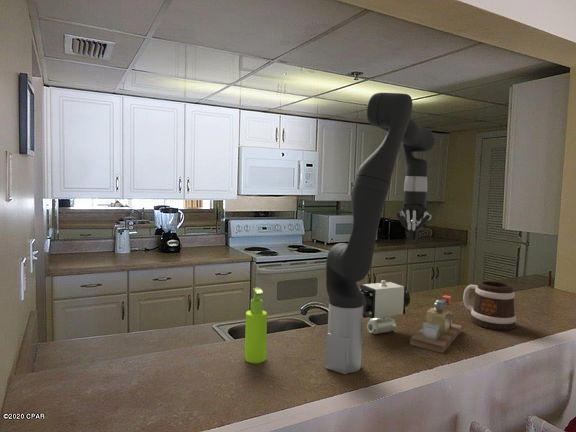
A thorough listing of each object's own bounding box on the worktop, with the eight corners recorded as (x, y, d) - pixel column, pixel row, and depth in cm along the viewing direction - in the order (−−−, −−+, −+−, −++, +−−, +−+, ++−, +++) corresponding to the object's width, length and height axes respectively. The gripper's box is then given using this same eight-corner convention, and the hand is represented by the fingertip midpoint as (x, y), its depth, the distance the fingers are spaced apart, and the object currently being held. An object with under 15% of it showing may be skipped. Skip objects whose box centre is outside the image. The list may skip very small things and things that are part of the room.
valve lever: (441, 312, 130) (442, 302, 130) (433, 310, 132) (433, 300, 132) (451, 303, 141) (452, 294, 141) (443, 301, 143) (443, 292, 143)
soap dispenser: (247, 365, 108) (249, 292, 107) (243, 355, 115) (244, 285, 113) (268, 363, 109) (270, 291, 108) (263, 353, 116) (265, 285, 115)
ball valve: (392, 324, 145) (395, 275, 144) (409, 332, 137) (411, 281, 136) (350, 330, 137) (352, 279, 136) (365, 339, 130) (367, 284, 128)
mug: (524, 327, 146) (527, 286, 145) (501, 334, 138) (503, 291, 137) (474, 312, 163) (476, 275, 162) (450, 317, 155) (452, 279, 154)
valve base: (442, 353, 120) (443, 346, 120) (409, 344, 126) (410, 338, 126) (461, 331, 140) (461, 325, 140) (432, 324, 146) (432, 319, 146)
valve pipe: (439, 341, 124) (440, 319, 123) (419, 337, 127) (420, 315, 127) (453, 326, 138) (454, 306, 138) (435, 322, 142) (436, 303, 141)
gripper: (439, 191, 134) (436, 242, 135) (404, 190, 144) (402, 238, 145) (427, 190, 129) (424, 244, 130) (392, 189, 139) (389, 239, 140)
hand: (412, 241), depth 138 cm, fingers closed
